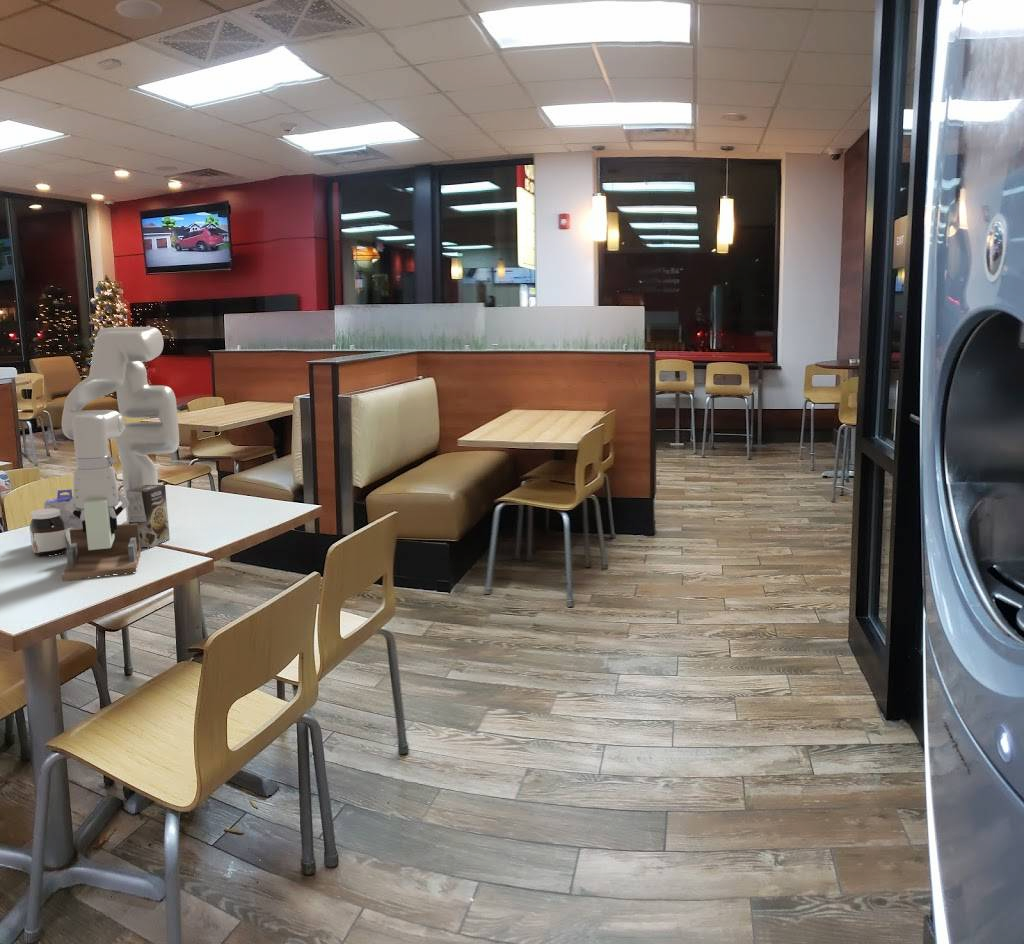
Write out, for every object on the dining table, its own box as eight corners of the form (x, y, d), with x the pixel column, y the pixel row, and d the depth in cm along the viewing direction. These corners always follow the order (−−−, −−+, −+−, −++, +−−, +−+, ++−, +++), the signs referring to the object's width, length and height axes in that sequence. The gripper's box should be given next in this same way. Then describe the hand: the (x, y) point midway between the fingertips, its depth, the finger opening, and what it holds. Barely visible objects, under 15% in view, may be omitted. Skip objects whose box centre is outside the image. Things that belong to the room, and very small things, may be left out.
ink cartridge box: (90, 536, 234) (84, 487, 231) (88, 541, 229) (82, 491, 226) (51, 539, 230) (45, 490, 228) (48, 544, 225) (42, 494, 223)
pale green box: (93, 540, 209) (88, 494, 206) (114, 538, 210) (110, 493, 208) (88, 550, 199) (83, 503, 197) (110, 548, 201) (105, 501, 199)
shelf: (74, 560, 211) (70, 528, 209) (140, 553, 216) (137, 523, 215) (63, 580, 194) (59, 547, 193) (135, 573, 200) (132, 540, 198)
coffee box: (151, 548, 221) (145, 491, 218) (130, 547, 222) (124, 490, 219) (171, 539, 230) (166, 484, 227) (151, 538, 231) (145, 483, 228)
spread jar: (29, 552, 219) (24, 510, 216) (74, 543, 226) (69, 503, 224) (42, 561, 210) (36, 518, 208) (88, 552, 218) (83, 510, 216)
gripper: (132, 458, 207) (138, 527, 211) (57, 463, 202) (65, 533, 205) (129, 463, 201) (136, 534, 204) (52, 468, 195) (60, 540, 198)
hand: (100, 532), depth 204 cm, fingers closed on pale green box, 5 cm apart
